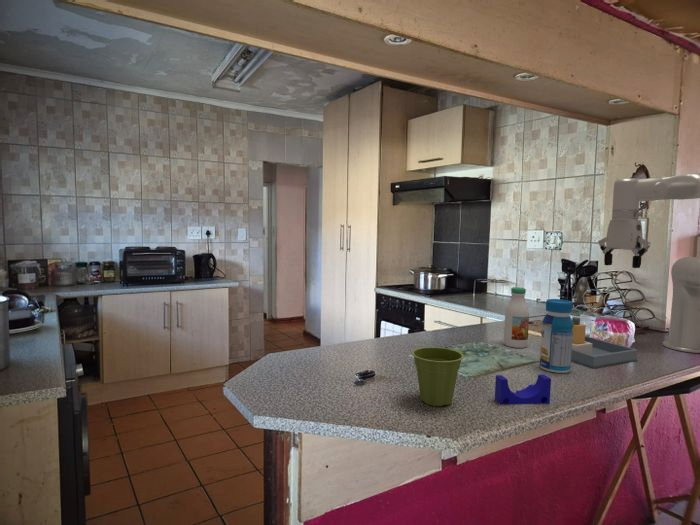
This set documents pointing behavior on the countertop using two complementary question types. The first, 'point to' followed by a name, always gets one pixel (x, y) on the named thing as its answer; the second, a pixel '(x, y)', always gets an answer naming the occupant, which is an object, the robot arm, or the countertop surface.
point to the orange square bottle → (578, 331)
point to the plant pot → (437, 373)
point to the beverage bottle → (557, 336)
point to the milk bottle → (516, 320)
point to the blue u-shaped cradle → (523, 392)
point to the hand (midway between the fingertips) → (621, 266)
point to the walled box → (601, 353)
